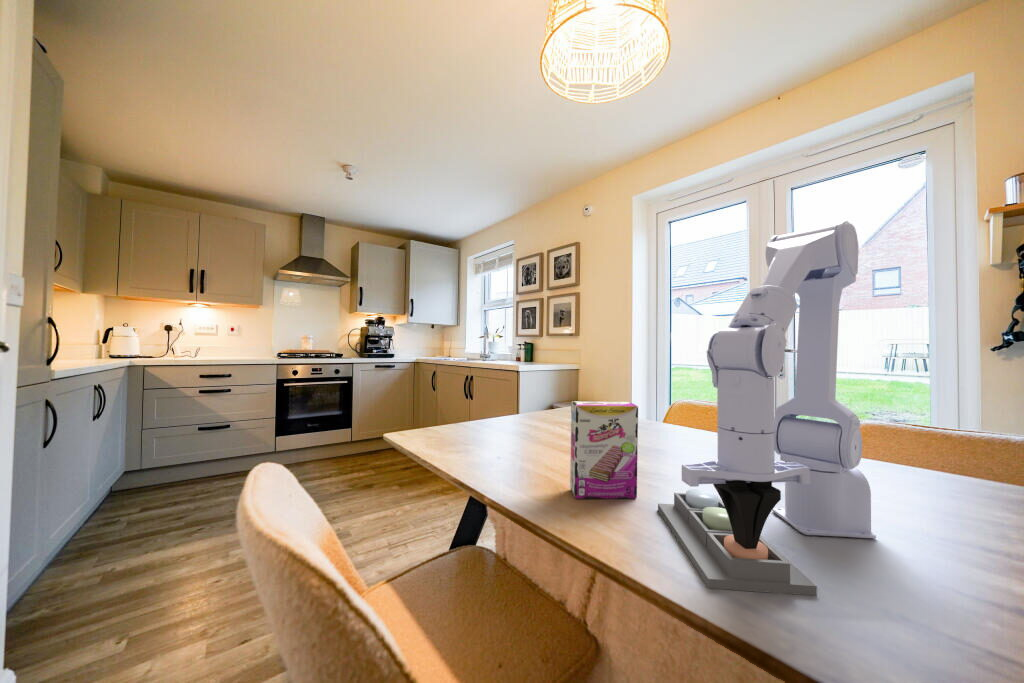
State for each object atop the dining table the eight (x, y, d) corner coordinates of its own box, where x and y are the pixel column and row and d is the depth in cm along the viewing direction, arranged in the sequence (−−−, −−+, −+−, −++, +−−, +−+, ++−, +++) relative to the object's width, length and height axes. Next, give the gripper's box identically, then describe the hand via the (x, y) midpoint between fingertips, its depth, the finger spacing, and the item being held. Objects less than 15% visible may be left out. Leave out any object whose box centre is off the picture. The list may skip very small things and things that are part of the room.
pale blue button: (711, 502, 59) (711, 490, 59) (723, 515, 55) (723, 501, 55) (681, 501, 60) (681, 488, 60) (692, 513, 55) (692, 500, 55)
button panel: (729, 513, 60) (729, 494, 60) (816, 595, 40) (816, 567, 40) (658, 509, 61) (657, 491, 61) (708, 588, 41) (708, 560, 42)
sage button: (730, 522, 53) (730, 507, 53) (746, 538, 48) (746, 522, 48) (697, 520, 53) (697, 506, 53) (710, 536, 49) (710, 520, 49)
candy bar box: (575, 500, 65) (575, 404, 65) (569, 489, 70) (569, 400, 70) (639, 499, 65) (639, 404, 66) (629, 488, 70) (629, 400, 71)
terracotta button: (755, 552, 46) (755, 536, 46) (776, 573, 42) (776, 555, 42) (717, 550, 47) (717, 533, 47) (734, 571, 42) (734, 553, 42)
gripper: (776, 421, 49) (777, 526, 49) (669, 422, 48) (669, 529, 48) (825, 433, 42) (826, 556, 42) (700, 435, 41) (700, 561, 41)
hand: (745, 544), depth 44 cm, fingers closed, pressing on terracotta button
